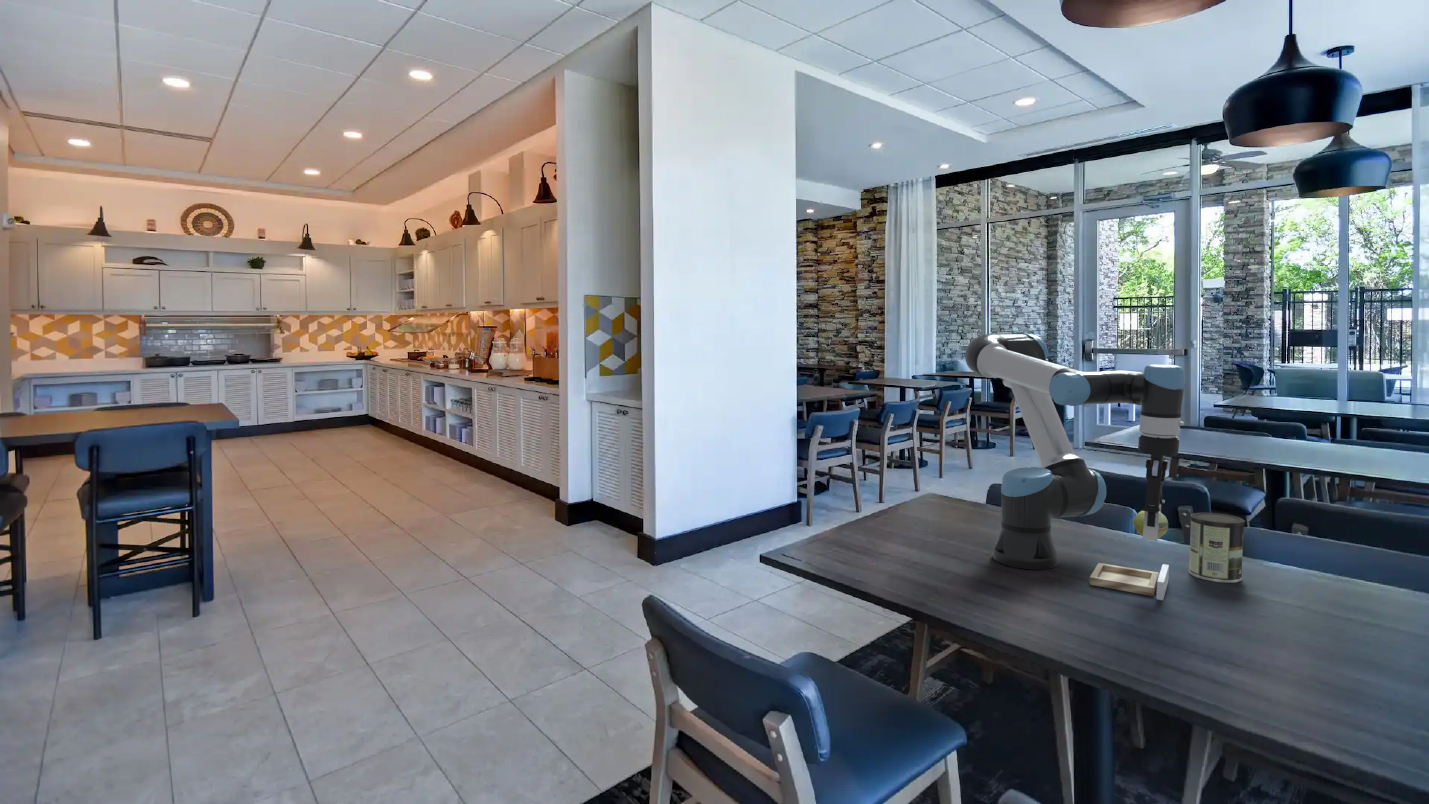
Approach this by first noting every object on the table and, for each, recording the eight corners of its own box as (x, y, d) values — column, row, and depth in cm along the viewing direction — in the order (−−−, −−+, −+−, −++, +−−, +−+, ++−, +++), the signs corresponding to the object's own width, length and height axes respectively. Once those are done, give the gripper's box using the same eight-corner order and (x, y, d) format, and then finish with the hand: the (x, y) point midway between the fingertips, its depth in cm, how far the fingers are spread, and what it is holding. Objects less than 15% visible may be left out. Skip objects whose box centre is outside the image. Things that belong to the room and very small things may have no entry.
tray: (1089, 584, 157) (1089, 577, 157) (1098, 570, 167) (1098, 562, 167) (1153, 596, 149) (1153, 588, 149) (1158, 580, 159) (1158, 572, 159)
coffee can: (1227, 569, 165) (1230, 512, 164) (1251, 584, 155) (1254, 523, 154) (1179, 567, 168) (1182, 511, 166) (1200, 582, 157) (1203, 522, 156)
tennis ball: (1158, 513, 149) (1172, 507, 152) (1126, 510, 154) (1140, 504, 158) (1160, 542, 149) (1175, 536, 153) (1128, 538, 155) (1143, 532, 158)
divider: (1156, 599, 148) (1157, 581, 147) (1162, 580, 159) (1162, 564, 158) (1163, 600, 147) (1163, 582, 146) (1168, 581, 158) (1168, 565, 158)
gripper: (1177, 443, 141) (1168, 551, 144) (1181, 430, 156) (1172, 527, 159) (1135, 439, 145) (1127, 544, 148) (1142, 427, 161) (1135, 521, 164)
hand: (1150, 535), depth 154 cm, fingers closed on tennis ball, 6 cm apart
